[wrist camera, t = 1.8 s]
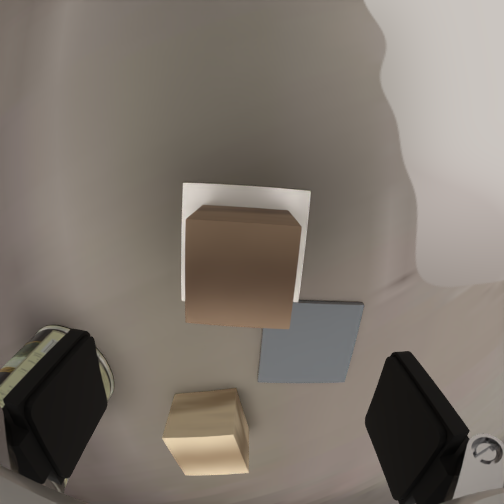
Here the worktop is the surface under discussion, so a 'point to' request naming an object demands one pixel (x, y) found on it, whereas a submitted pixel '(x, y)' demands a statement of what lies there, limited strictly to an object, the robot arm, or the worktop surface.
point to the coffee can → (29, 356)
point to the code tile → (247, 197)
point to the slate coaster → (311, 344)
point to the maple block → (208, 433)
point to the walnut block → (241, 266)
